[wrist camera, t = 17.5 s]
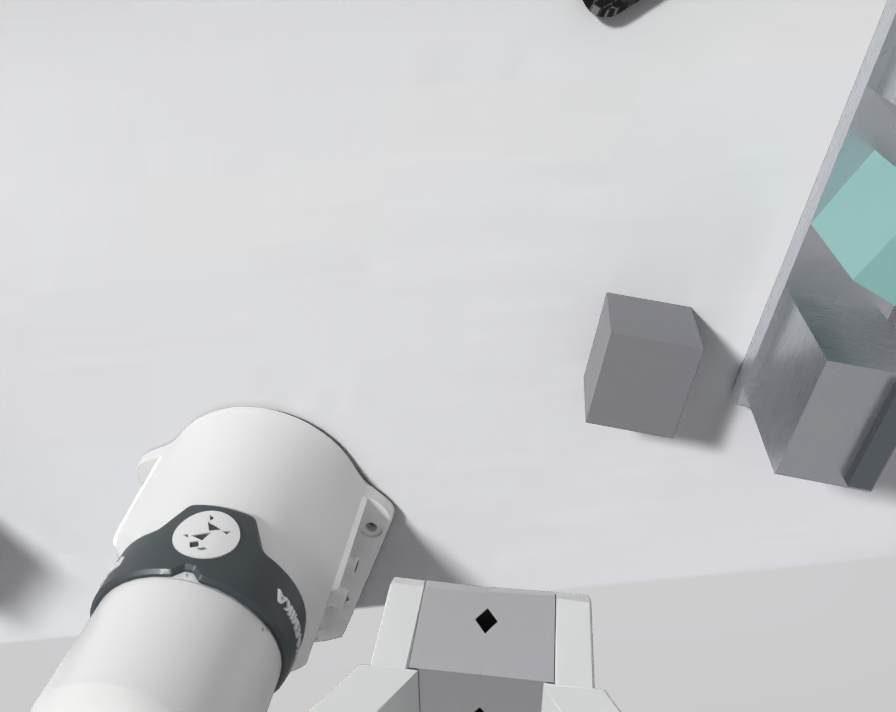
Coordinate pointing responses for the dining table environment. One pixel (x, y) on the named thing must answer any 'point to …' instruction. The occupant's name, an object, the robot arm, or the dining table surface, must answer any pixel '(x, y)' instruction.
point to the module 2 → (865, 226)
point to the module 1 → (641, 365)
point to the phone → (608, 6)
